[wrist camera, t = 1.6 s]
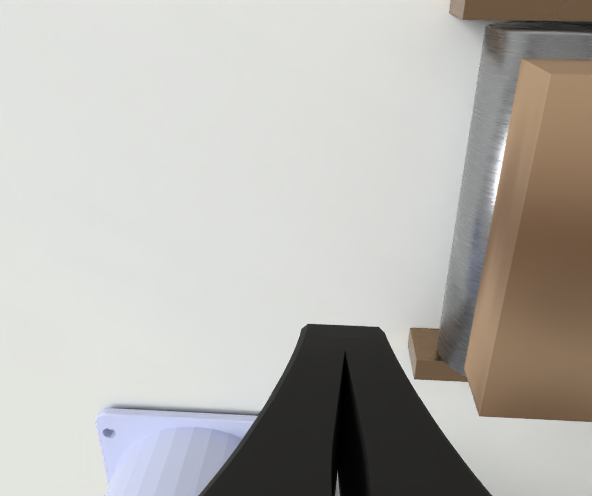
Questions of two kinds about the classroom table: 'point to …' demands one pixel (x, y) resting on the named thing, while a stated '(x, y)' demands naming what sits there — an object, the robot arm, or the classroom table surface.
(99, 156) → the classroom table surface
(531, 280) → the slab
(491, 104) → the roller track
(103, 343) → the classroom table surface
